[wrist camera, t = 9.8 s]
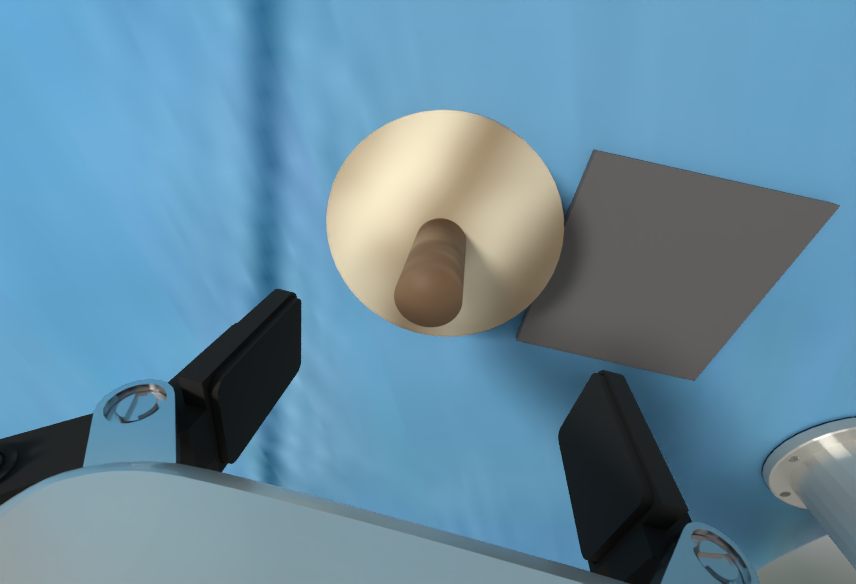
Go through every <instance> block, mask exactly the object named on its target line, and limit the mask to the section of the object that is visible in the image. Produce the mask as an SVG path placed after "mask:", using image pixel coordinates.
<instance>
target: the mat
mask: <svg viewBox="0 0 856 584" xmlns="http://www.w3.org/2000/svg"><path fill="white" fill-rule="evenodd" d="M839 207H840V205H837V204H834V203H830V202H826V201H821V200H817V199H812V198H808V197H803V196H799V195H794V194H790V193H786V192H781V191H777V190H772V189H768V188H763V187H759V186H754V185H750V184H745V183H741V182H737V181H732V180H728V179H723V178H719V177H714V176H710V175H705V174H701V173H696V172H692V171H687V170H683V169H679V168H674V167H670V166H665V165H661V164H656V163H652V162H647V161H643V160H638V159H634V158H629V157H625V156H621V155H616V154H612V153H607V152H603V151H598V150H594V149H593V152H592V154H591V157H590V159H589V162H588V164H587V166H586V169H585V171H584V174H583V176H582V178H581V181H580V183H579V186H578V188H577V190H576V193H575V195H574V198H573V200H572V203H571V205H570V207H569V210H568V212H567V215H566V217H565V219H564V236H563V245H562V249H561V253H560V257H559V261H558V263H557V265H556V268H555V270H554V273H553V275H552V276H551V278H550V280H549V282H548V283H547V285H546V287H545V288H544V289H543V290H542V292H541V293H540V294H539V296H538V297H537V298H536V299H535V300H534V301H533V302H532V303H531V304H530V305H529V306H528V309H527V311H526V314H525V316H524V318H523V321H522V323H521V326H520V328H519V330H518V333H517V335H516V339H517V341H520V342H525V343H529V344H534V345H538V346H542V347H547V348H551V349H556V350H560V351H564V352H569V353H573V354H578V355H582V356H587V357H591V358H595V359H600V360H604V361H609V362H613V363H617V364H622V365H626V366H631V367H635V368H640V369H644V370H648V371H653V372H657V373H662V374H666V375H670V376H675V377H679V378H684V379H688V380H693V381H695V380H696V378H697V377H698V376H699V375H700V374H701V372H702V371H703V370H704V369H705V368H706V366H707V365H708V364H709V363H710V362H711V360H712V359H713V358H714V357H715V356H716V354H717V353H718V352H719V351H720V350H721V348H722V347H723V346H724V345H725V344H726V342H727V341H728V340H729V339H730V338H731V336H732V335H733V334H734V333H735V332H736V330H737V329H738V328H739V327H740V326H741V324H742V323H743V322H744V321H745V320H746V318H747V317H748V316H749V315H750V314H751V312H752V311H753V310H754V309H755V308H756V306H757V305H758V304H759V303H760V302H761V300H762V299H763V298H764V297H765V295H766V294H767V293H768V292H769V291H770V289H771V288H772V287H773V286H774V285H775V283H776V282H777V281H778V280H779V279H780V277H781V276H782V275H783V274H784V273H785V271H786V270H787V269H788V268H789V267H790V265H791V264H792V263H793V262H794V261H795V259H796V258H797V257H798V256H799V255H800V253H801V252H802V251H803V250H804V249H805V247H806V246H807V245H808V244H809V243H810V241H811V240H812V239H813V238H814V237H815V235H816V234H817V233H818V232H819V231H820V229H821V228H822V227H823V226H824V225H825V223H826V222H827V221H828V220H829V219H830V217H831V216H832V215H833V214H834V213H835V211H836V210H837V209H838V208H839Z"/></svg>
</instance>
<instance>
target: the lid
mask: <svg viewBox="0 0 856 584" xmlns="http://www.w3.org/2000/svg"><path fill="white" fill-rule="evenodd" d="M327 235H328V242H329V246H330V250H331V254H332V256H333V259H334V262H335V264H336V267H337V269H338V271H339V272H340V274H341V276H342V278H343V280H344V281H345V282H346V284H347V285H348V287H349V288H350V290H351V291H352V292H353V293H354V294H355V295H356V297H357V298H358V299H359V300H360V301H361V302H362V303H363V304H365V305H366V306H367V307H368V308H369V309H370V310H372V311H373V312H374V313H376V314H377V315H379V316H380V317H382V318H383V319H385V320H387V321H389V322H390V323H392V324H395V325H397V326H399V327H401V328H404V329H407V330H410V331H413V332H416V333H421V334H426V335H432V336H464V335H470V334H475V333H480V332H483V331H486V330H489V329H492V328H494V327H497V326H499V325H501V324H503V323H505V322H507V321H509V320H510V319H512V318H513V317H515V316H517V315H518V314H519V313H521V312H522V311H523V310H524V309H526V308H527V307H528V306H529V305H530V304H531V303H532V302H533V301H534V300H535V299H536V298H537V297H538V296H539V294H540V293H541V292H542V290H543V289H544V288H545V287H546V285H547V283H548V282H549V280H550V278H551V276H552V275H553V273H554V270H555V268H556V265H557V263H558V261H559V257H560V253H561V249H562V245H563V236H564V214H563V208H562V203H561V198H560V195H559V192H558V189H557V186H556V184H555V181H554V179H553V178H552V176H551V174H550V172H549V170H548V168H547V167H546V165H545V164H544V162H543V161H542V160H541V158H540V157H539V156H538V154H537V153H536V152H535V151H534V150H533V149H532V148H531V147H530V146H529V145H528V144H527V143H526V142H525V141H524V140H523V139H522V138H521V137H520V136H518V135H517V134H516V133H514V132H513V131H512V130H510V129H509V128H507V127H506V126H504V125H502V124H500V123H498V122H496V121H494V120H492V119H490V118H487V117H484V116H481V115H479V114H475V113H470V112H465V111H460V110H444V109H440V110H430V111H422V112H418V113H414V114H410V115H407V116H404V117H402V118H400V119H397V120H395V121H392V122H390V123H388V124H386V125H384V126H383V127H381V128H379V129H378V130H376V131H374V132H373V133H371V134H370V135H369V136H368V137H367V138H365V139H364V140H363V141H362V142H361V143H359V145H358V146H357V147H356V148H355V149H354V150H353V151H352V152H351V154H350V155H349V156H348V157H347V159H346V160H345V162H344V163H343V165H342V166H341V168H340V170H339V172H338V174H337V176H336V178H335V181H334V183H333V186H332V189H331V193H330V196H329V201H328V207H327Z"/></svg>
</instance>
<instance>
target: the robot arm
mask: <svg viewBox="0 0 856 584" xmlns="http://www.w3.org/2000/svg"><path fill="white" fill-rule="evenodd" d="M300 365H301V300H300V299H298V298H297V296H296V294H295V293H293V292H289V291H285V290H281V289H275V290H274V291H273V292H272V293H270V294H269V295H268V296H267V297H266V298H265V299H264V300H263V301H262V302H260V303H259V304H258V305H257V306H256V307H255V308H254V309H253V310H252V311H250V312H249V313H248V314H247V315H246V316H245V317H244V318H243V319H241V320H240V321H239V322H238V323H235V324H234V325H232V326H231V327H230V328H229V329H228V330H227V331H225V332H224V333H223V334H222V335H221V336H220V337H219V338H218V339H216V340H215V341H214V342H213V343H212V344H211V345H210V346H209V347H207V348H206V349H205V350H204V351H203V352H202V353H201V354H200V355H198V356H197V357H196V358H195V359H194V360H193V361H192V362H191V363H189V364H188V365H187V366H186V367H185V368H184V369H183V370H182V371H180V372H179V373H178V374H177V375H176V376H175V377H174V378H173V379H171V380H170V381H169V382H168V383H167V382H164V381H161V380H154V379H147V380H139V381H135V382H131V383H128V384H125V385H123V386H121V387H119V388H117V389H114V390H113V391H112V392H110V393H109V394H107V395H106V396H104V397H103V399H102V400H101V401H100V402H99V403H98V404H97V406H96V408H95V410H94V413H93V414H89V415H85V416H82V417H78V418H75V419H71V420H67V421H64V422H60V423H57V424H53V425H50V426H46V427H42V428H39V429H35V430H32V431H28V432H24V433H21V434H17V435H14V436H10V437H6V438H3V439H0V584H760V581H759V579H758V576H757V573H756V571H755V569H754V567H753V566H752V564H751V562H750V561H749V559H748V558H747V556H746V555H745V554H744V553H743V552H742V551H741V549H740V548H739V547H738V546H737V545H736V544H735V543H734V542H733V541H732V540H730V539H729V538H728V537H727V536H726V535H724V534H723V533H721V532H720V531H719V530H717V529H716V528H714V527H711V526H709V525H707V524H705V523H700V522H692V521H691V519H690V517H689V514H688V511H689V510H688V508H687V506H686V504H685V501H684V499H683V497H682V495H681V493H680V491H679V489H678V487H677V485H676V483H675V481H674V479H673V477H672V475H671V473H670V470H669V468H668V466H667V464H666V462H665V460H664V458H663V456H662V454H661V452H660V450H659V448H658V446H657V444H656V442H655V440H654V437H653V435H652V433H651V431H650V429H649V427H648V425H647V423H646V421H645V419H644V417H643V415H642V413H641V411H640V409H639V406H638V404H637V402H636V400H635V398H634V396H633V394H632V392H631V390H630V388H629V386H628V384H627V382H626V380H625V378H624V376H623V375H621V374H617V373H613V372H609V371H605V370H601V371H600V372H599V373H598V374H597V373H594V374H592V376H591V377H590V379H589V381H588V382H587V384H586V386H585V387H584V389H583V391H582V392H581V394H580V396H579V398H578V399H577V401H576V403H575V404H574V406H573V408H572V409H571V411H570V413H569V414H568V416H567V418H566V419H565V421H564V423H563V424H562V426H561V428H560V430H559V435H558V440H559V445H560V450H561V455H562V460H563V465H564V470H565V475H566V480H567V485H568V489H569V494H570V499H571V504H572V509H573V514H574V519H575V524H576V529H577V534H578V539H579V544H580V548H581V553H582V555H583V558H584V559H585V560H588V563H589V568H590V572H589V571H586V570H582V569H579V568H575V567H572V566H569V565H565V564H562V563H558V562H554V561H551V560H547V559H544V558H540V557H536V556H533V555H529V554H525V553H522V552H518V551H515V550H511V549H507V548H504V547H500V546H497V545H493V544H489V543H486V542H482V541H479V540H475V539H471V538H468V537H464V536H460V535H457V534H453V533H449V532H446V531H442V530H438V529H435V528H431V527H427V526H424V525H420V524H416V523H413V522H409V521H405V520H401V519H398V518H394V517H390V516H387V515H383V514H379V513H376V512H372V511H368V510H364V509H361V508H357V507H353V506H349V505H346V504H342V503H338V502H334V501H331V500H327V499H323V498H319V497H316V496H312V495H308V494H304V493H301V492H297V491H293V490H289V489H285V488H282V487H278V486H274V485H270V484H266V483H262V482H258V481H254V480H250V479H246V478H242V477H238V476H234V475H230V474H226V473H222V471H223V470H224V468H225V467H226V465H227V464H228V463H230V464H232V463H234V462H235V461H236V460H237V459H238V457H239V456H240V454H241V453H242V452H243V450H244V449H245V447H246V446H247V444H248V443H249V442H250V440H251V439H252V437H253V436H254V434H255V433H256V431H257V430H258V429H259V427H260V426H261V424H262V423H263V421H264V420H265V418H266V417H267V416H268V414H269V413H270V411H271V410H272V408H273V407H274V406H275V404H276V403H277V401H278V400H279V398H280V397H281V395H282V394H283V393H284V391H285V390H286V388H287V387H288V385H289V384H290V383H291V381H292V380H293V378H294V377H295V375H296V374H297V372H298V370H299V368H300ZM762 474H763V479H764V481H765V483H766V484H767V486H768V487H769V489H770V490H771V492H772V493H773V494H774V495H775V496H776V497H777V498H779V499H780V500H782V501H783V502H785V503H788V504H790V505H793V506H795V507H799V508H804V509H808V510H809V511H810V512H811V514H812V515H813V516H814V518H815V519H816V520H817V521H818V523H819V524H820V525H821V526H822V528H823V529H824V530H825V532H826V533H827V534H828V535H829V537H830V538H831V539H832V540H833V542H834V543H835V544H836V545H837V547H838V548H839V549H840V550H841V552H842V553H843V554H844V556H845V557H846V558H847V559H848V561H849V562H850V563H851V565H852V566H853V567H854V568H855V570H856V417H855V418H847V419H842V420H838V421H833V422H829V423H826V424H823V425H820V426H816V427H813V428H811V429H809V430H806V431H804V432H802V433H799V434H797V435H796V436H794V437H792V438H790V439H789V440H787V441H785V442H784V443H783V444H781V445H780V446H779V447H778V448H776V449H775V450H774V451H773V452H772V454H771V455H770V456H769V457H768V459H767V461H766V462H765V464H764V467H763V473H762Z"/></svg>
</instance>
